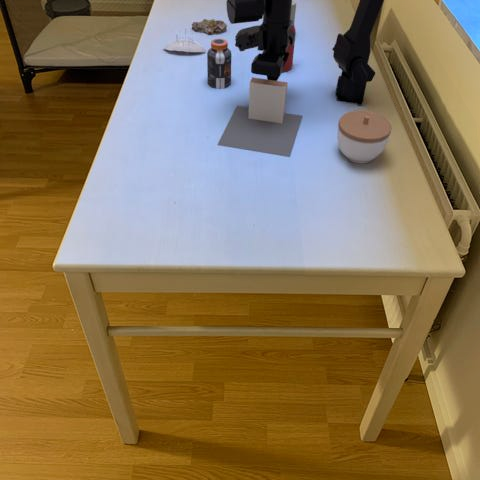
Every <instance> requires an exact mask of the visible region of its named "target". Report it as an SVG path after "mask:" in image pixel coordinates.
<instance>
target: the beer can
mask: <svg viewBox="0 0 480 480" xmlns="http://www.w3.org/2000/svg"><path fill="white" fill-rule="evenodd" d="M290 29H292V30H293V31H294V32H295V35H296V26H295V21H294V22H293V21H292V24H291V27H290ZM295 43H296V41H295V42H294V44H293V46H290V44H289V46H288V48H287V51H286V52H288V53H290V55H289V57H288V59H287V61H286V64H285V66H284V68H283V70H282V73H284V72H288V71H290V70H291V69H292V68H293V61H294V53H295V52H294V51H295Z"/></svg>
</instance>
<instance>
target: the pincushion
mask: <svg viewBox="0 0 480 480" xmlns="http://www.w3.org/2000/svg"><path fill="white" fill-rule="evenodd" d="M184 30H185V32H184V34H186V33H187V31H186V30H187V29H186V28H185V29H184ZM179 32H180V30H179ZM176 38H178V35H177V34H176ZM162 49H163V50H166V51H169V52H172V51H177V53H178V54H179V53H180V52H183V54H185V52H186V53H188V54H189V55H190V54H191V53H207V51H206V48H205V47H204V46H203V45H202V44H200V43H199V42H197V41H195V40H193V39H189V38H188V39H187V38H182V39H181V38H180V39H176V40H173V41H171V42H169V43H167V44H166V45H165V46H163V48H162Z"/></svg>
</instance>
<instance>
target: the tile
mask: <svg viewBox="0 0 480 480" xmlns="http://www.w3.org/2000/svg"><path fill="white" fill-rule="evenodd" d="M288 84H289V83H288V82H287V81H281V80H280V81H279V80H277V81H274V80H267V78H259V77H254V76H253V77H251V80H250V81H249V91H248V93H249V94H248V95H249V96H248V107H249V116H248V118H249V119H256V120H262V121H269V122H275V123H283V120H284V115H285V113H286V104H287V103H286V101H287V94H288V92H287V91H288Z"/></svg>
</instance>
